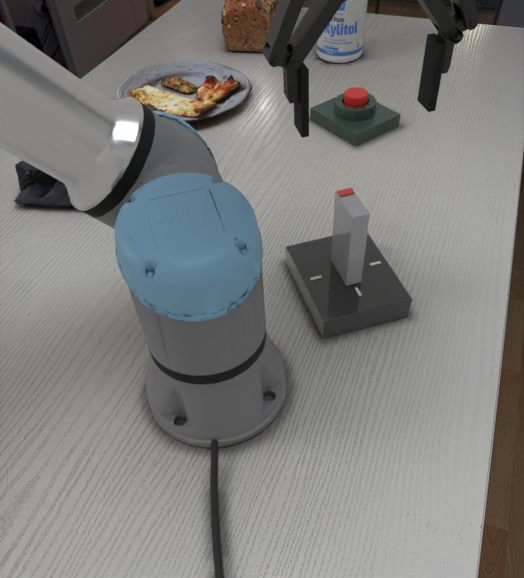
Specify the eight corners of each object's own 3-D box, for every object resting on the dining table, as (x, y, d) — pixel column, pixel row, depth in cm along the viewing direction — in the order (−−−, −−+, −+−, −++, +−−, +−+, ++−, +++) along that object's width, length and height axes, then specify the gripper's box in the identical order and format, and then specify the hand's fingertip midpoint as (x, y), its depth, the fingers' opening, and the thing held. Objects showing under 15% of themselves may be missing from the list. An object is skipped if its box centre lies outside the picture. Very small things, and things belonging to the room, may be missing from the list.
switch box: (398, 126, 94) (402, 103, 91) (355, 146, 90) (357, 123, 87) (351, 101, 100) (353, 79, 97) (309, 119, 97) (310, 97, 94)
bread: (270, 53, 115) (268, 0, 107) (221, 52, 117) (216, 0, 109) (283, 19, 127) (282, -31, 119) (238, 19, 128) (235, -31, 120)
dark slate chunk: (137, 223, 80) (130, 195, 76) (7, 207, 84) (-7, 180, 81) (173, 166, 89) (168, 139, 86) (53, 154, 94) (43, 128, 90)
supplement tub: (322, 67, 110) (325, -17, 98) (311, 48, 116) (313, -33, 104) (368, 61, 110) (377, -23, 99) (355, 42, 116) (361, -39, 105)
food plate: (275, 93, 104) (275, 74, 101) (189, 146, 93) (186, 126, 90) (184, 61, 115) (181, 43, 112) (98, 105, 104) (92, 87, 101)
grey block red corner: (361, 282, 65) (370, 211, 58) (345, 286, 65) (352, 215, 57) (345, 256, 69) (351, 186, 61) (330, 260, 68) (335, 189, 60)
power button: (372, 103, 92) (373, 92, 91) (354, 111, 91) (355, 100, 89) (356, 95, 94) (356, 84, 93) (338, 102, 93) (339, 92, 91)
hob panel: (408, 316, 66) (412, 298, 63) (322, 338, 64) (323, 320, 62) (362, 245, 74) (364, 227, 72) (286, 263, 73) (285, 245, 70)
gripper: (231, -127, 36) (256, 160, 52) (572, -177, 39) (494, 111, 55) (210, -146, 41) (239, 123, 57) (515, -190, 43) (459, 80, 60)
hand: (364, 118), depth 56 cm, fingers open, 13 cm apart
